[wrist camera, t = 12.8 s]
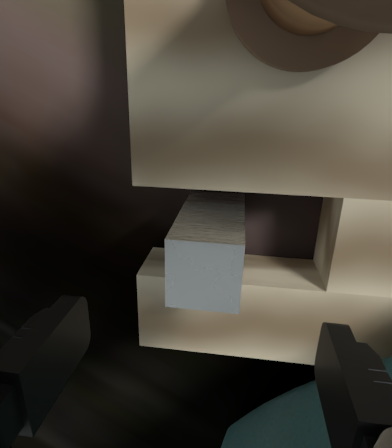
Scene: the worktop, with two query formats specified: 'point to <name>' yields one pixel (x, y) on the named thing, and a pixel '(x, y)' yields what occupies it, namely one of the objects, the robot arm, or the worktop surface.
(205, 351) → the notched board
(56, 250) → the worktop surface
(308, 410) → the flower pot
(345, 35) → the bobbin
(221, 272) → the tab peg
